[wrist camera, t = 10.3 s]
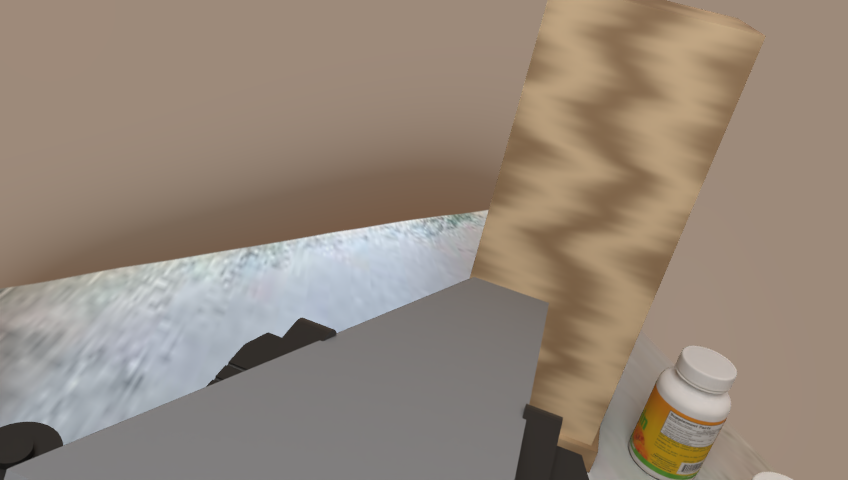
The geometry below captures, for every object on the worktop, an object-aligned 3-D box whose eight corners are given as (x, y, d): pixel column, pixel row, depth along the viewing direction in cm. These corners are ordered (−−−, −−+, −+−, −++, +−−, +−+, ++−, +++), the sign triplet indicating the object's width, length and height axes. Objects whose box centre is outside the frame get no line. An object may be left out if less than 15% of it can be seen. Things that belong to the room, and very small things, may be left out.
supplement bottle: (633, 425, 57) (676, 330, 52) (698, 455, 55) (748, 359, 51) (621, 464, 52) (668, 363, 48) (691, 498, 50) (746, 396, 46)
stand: (425, 411, 53) (543, -20, 39) (463, 329, 64) (565, -25, 50) (588, 472, 50) (776, 39, 36) (598, 376, 62) (743, 19, 48)
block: (-123, 907, 6) (8, 468, 5) (449, 349, 35) (473, 276, 35) (301, 1182, 5) (474, 687, 5) (523, 377, 34) (548, 302, 34)
